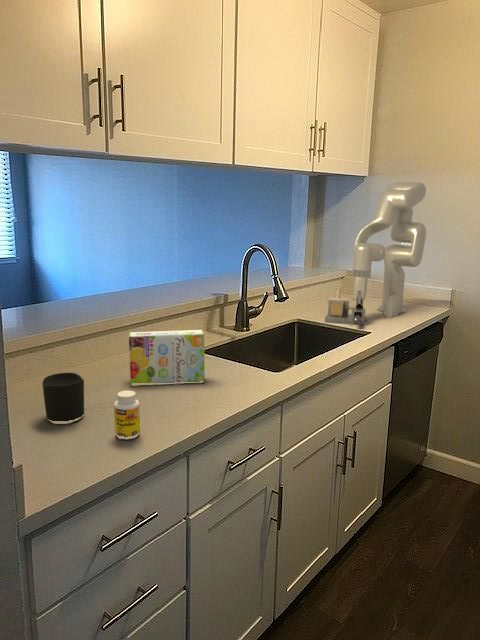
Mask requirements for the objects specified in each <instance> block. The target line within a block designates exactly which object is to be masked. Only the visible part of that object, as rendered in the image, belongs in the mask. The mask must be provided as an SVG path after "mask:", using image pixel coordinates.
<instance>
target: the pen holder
mask: <svg viewBox="0 0 480 640" xmlns="http://www.w3.org/2000/svg"><path fill="white" fill-rule="evenodd" d="M42 391H43V400H44V408H45V414H46V419H47V418H48V419H49V420H52V421H69V420H74V419H76V418H79V417H81V416H82V415H83V414H84V415H85V380H84V379H83V377H82V376H80V374H78V373H75V372H59V373H53V374H50V375H48V376H45V378H43V381H42Z"/></svg>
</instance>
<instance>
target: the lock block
mask: <svg viewBox="0 0 480 640" xmlns="http://www.w3.org/2000/svg"><path fill="white" fill-rule="evenodd" d="M342 316H344V301H334V300H333V302H332V303H331V317H342Z"/></svg>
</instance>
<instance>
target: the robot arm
mask: <svg viewBox="0 0 480 640" xmlns="http://www.w3.org/2000/svg"><path fill="white" fill-rule="evenodd" d="M426 193H427V187H426V186H425V184H424V182H423V183H422V182H418V181H415V182H412V181H410V182H409V181H408V182H407V181H399V182H398V181H397V182H392V183H390V184H389V185H388V186H387V190H384V191H383V192H382V193H381V195H380V197H379V200H378V204H377V207H376V209H375V212H374V215H373V218H372V220H370V222H368V223H367V224H365V226H364V227H363V228H362V229H361V230H360V231H359V232H358V233H357V236H356V238H355V241H354V244H353V248H352V254H353V268H352V278H354V283H353V292H352V293H353V295H352V301H355V300H356V305H355V308H363V309H364V301H365V299H366V295H367V289H368V279H371V275H372V263H373V262H381V261H382V260H383V261H384V266H383V267H384V273H383V285H382V296H381V299H382V300H381V306H378V308H377V309H378V311H380V312H382V313H384V308H385V303H386V301H387V299H388V297H389V296H390V295H393V294H397V298H398V301H399V312H398V314H403V313H405V312H406V308H404V307H403V301H404V290H405V278H406V274H405V271H404V269H403V267H410V268H417V267H419V266H420V264H421V262H422V260H423V254H424V249H425V245H426V243H425V242H426V238H427V229H426V226H425V224H423V223H421V222H416V221H415V222H414V221H413V215H414V211H413V208H414V207H415V206H416V205H418V204H419V203H421V202H422V201H423V200H424V199H425V197H426ZM389 228H391V229H390V239H391V240H392V241H394V242H397V243H404V245H403V244H390V245H388V246H386V247H385V246H384V245H383V244H380V243H371V242H370V243H369V242H367V241H368V240H369V239H370V238H371V237H372V236H373V235H375V234H377V233H380V232H382V231H385V230H388V229H389ZM405 243H406V244H407V243H408V244H411V245H405Z"/></svg>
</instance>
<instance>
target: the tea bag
mask: <svg viewBox="0 0 480 640" xmlns="http://www.w3.org/2000/svg"><path fill="white" fill-rule="evenodd" d="M398 312H399V301H398V298H397V294H393V295H390V296H389V297H388V299H387V301H386V303H385V308H384V312H383V317H384V318H390V319H392V318H395V317H398V316H399V313H398Z"/></svg>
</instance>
